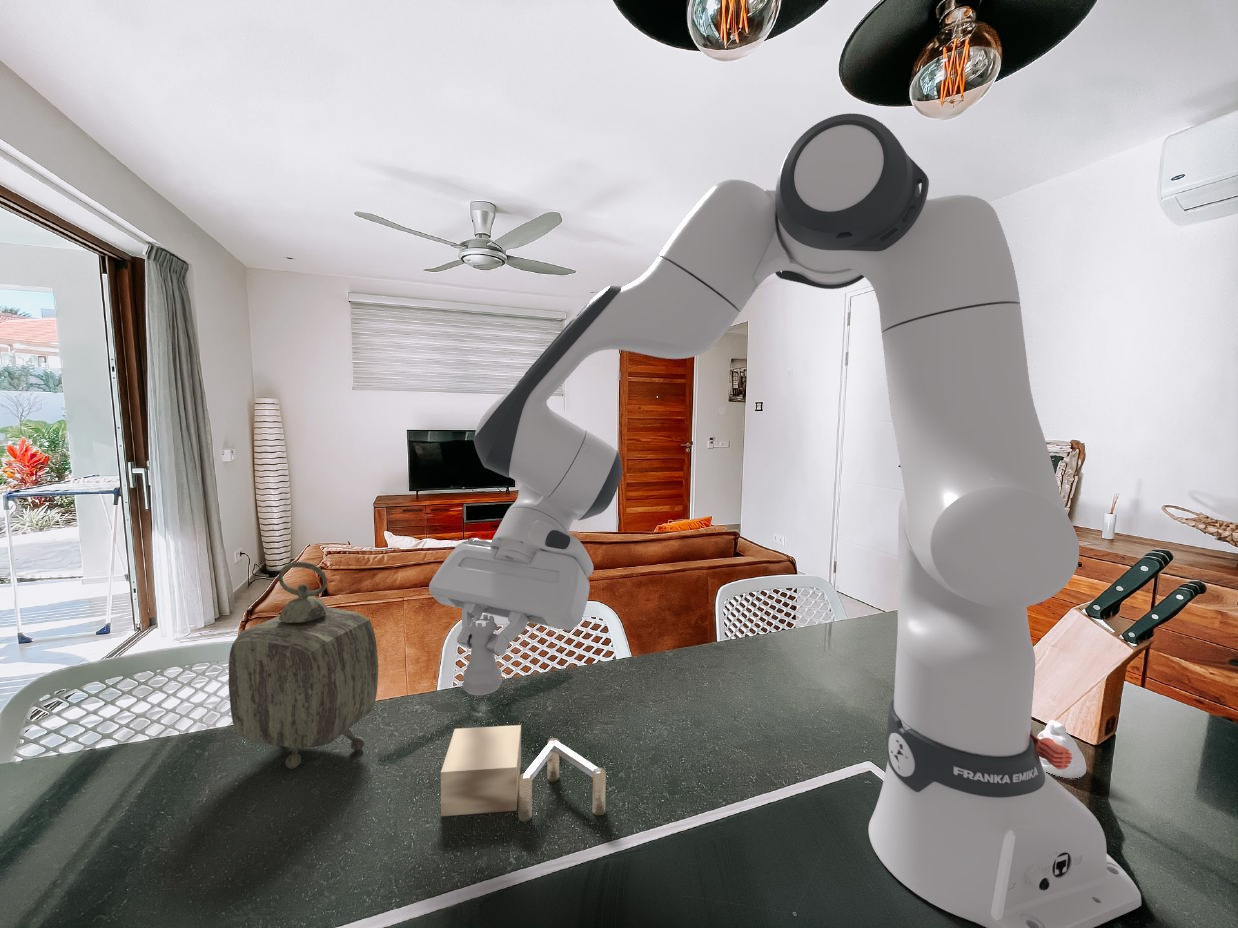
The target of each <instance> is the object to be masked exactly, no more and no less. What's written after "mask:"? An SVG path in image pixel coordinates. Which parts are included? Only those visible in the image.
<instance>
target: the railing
mask: <svg viewBox="0 0 1238 928" xmlns="http://www.w3.org/2000/svg"><path fill="white" fill-rule="evenodd" d="M546 742H547V745H545V747H543V749H542V750H541V752H540V753H539V755H538V756H537V757H536V758H535V759H534V760H533V762H532V763H531V764H530V765H529V767H528V768H527V769H526V771H525V772H523V773H520V776H519V790H518V819H519V821H521V822H528V821H530V820H531V819H532V818H533V817H532V816H533V812H532V811H533V810H532V809H533V780H534V779H535V777H536V776H537V775H538V774H539V772H540V771H541V770H542V768H543V767H544V765H546V763H547V767H546V769H547V771H546V773H547V774H546V775H547V780H548V781H549V782H557V780H559V778H560V757H561V758H563V759H565V760H566V762H568V763H570V764H572V765H573V766H575V767H576V768H577V769H579V770H580V771H582V772H584V773H585V774H586V775H588V776H590V777H591V778H592V813H593V814H594V815H595V816H602V815H604V814H605V813H606V788H607V787H606V780H607V779H606V777H607V776H606V774H607V773H606V772H607V771H606V769H605V768H603V767H598V766H596V765H595V764H593V763H592V762H591V761H590V760H587V759H585V758H584V757H583V756H582V755H580V754H578V753H577V752H575V751H574V750H572V749H571V748H569V747H568V746H566V745H565V744H563V743H561V742H560V739H559V738H558V737H557V738H556V737H551V738H549V739H548V740H547V741H546Z"/></svg>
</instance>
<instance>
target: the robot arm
mask: <svg viewBox="0 0 1238 928" xmlns="http://www.w3.org/2000/svg"><path fill="white" fill-rule="evenodd" d="M920 184H921V186H920ZM929 186H930V179H929V177H928V175H927V174H926V173H925V171H924V170H923V169H922V168H921V167H920V166H919V165H918V164H917V162H915V161H914V160H913V159H912V158H911V156H909V154H908V153H907V152H906V151H905V149H904V147H903V145H902V144H901V142H900V140H899V139H898V138H897V137H896V136H895V134H894V133H893V132H892V131H891V130H890V129H889V128H888V127H887V126H886V125H885V124H884V123H883V122H881V121H879V120H878V119H876V118H874V117H872V116H869V115H866V114H862V113H842V114H837V115H832V116H829V117H827V118H825V119H823V120H821V121H818V123H816V124H814V125H813V126H811V127H810V128H808V129H807V130H806V131H805V132H804V133H802V134H801V136H800V137H799V138H798V139H797V140H796V141H795V143H793V145H792V146H791V148H790V149H789V151H788V153H786V156H785V158H784V160H783V162H782V165H781V167H780V170H779V173H778V176H777V181H776V185H775V189H774V190H773V189H771V190H770V189H764V188H762V187H760V186H759V185H757V184H754V183H752V182H751V181H750V182H749V181H746V180H741V179H727V180H723V181H721V182H718V183H717V184H716V185H714V186H713V187H711V188H710V189H709V190H708V191H707V192H706V193H705V194H704V196H702V197H701V199H700V200H699V201H698V202H697V203H696V204H695V206H694V207H693V208H692V209H691V210H690V212H689V213H688V214H687V215H686V217H685V218H684V219H683V220H682V221H681V223H680V224H679V226H678V227H676V229H675V231H674V232H673V234H671V236H670V238H669V239H668V241H667V242H666V243H665V245H664V246H663V248H662V249H661V251H660V252H659V254H658V256H657V257H656V258H655V260H654V261H653V263H652V264H651V265H650V267H649V268H648V269H647V270H646V271H645V272H643V274H642V275H641V276H639V277H638V278H636V279H635V280H633V281H632V282H630V283H628V284H626V285H624V286H618V285H609V286H607V287H605V288H604V289H602V290H600V291H599V292H598V293H597V294H596V295H595V296H594V297H592V298H591V299H590V300H589V301H588V303H586V305H584V307H583V308H582V309H581V310H580V311H579V312H578V313H577V315H576V316H575V317H573V319H571V321H569V323H567V325H566V326H565V327H564V329H562V330H561V331H560V333H559V334H558V335H557V336H556V337H555V338H554V340H553V341H552V342H551V343H550V344H549V345H548V347H547V348H546V349H545V350H544V351H543V353H541V354H540V355H539V357H538V358H537V359H536V360H535V361H534V363H533V364H532V365H531V366H530V367H529V368H528V370H527V371H526V372H525V373H524V375H523V376H522V378H520V380H519V381H518V382H517V383H516V384H515V385H514V386H513V387H512V388H511V389H510V390H509V391H507V392H506V393H505V394H504V395H502V396H501V397H499V398H498V400H496V401H495V402H494V403H493V404H492V405H491V406H490V407H489V408H488V409H487V410H486V412H485V413H484V414H483V416H482V417H481V419H480V421H479V422H478V424H477V427H476V429H475V432H474V433H475V434H474V437H473V444H474V447H475V450H476V453H477V456H478V458H479V459H480V462H481V464H482V465H483V467H484V468H485V469H488V470H491V471H493V472H494V473H497V474H499V475H502V476H504V477H506V478H511V479H513V480H514V481H516V482H518V483H520V486H519V488H518V493H517V498H516V500H515V502H513V503H512V504H511V505H510V506H509V508H508V509H507V511H506V513H505V515H504V516H503V518H502V521H501V522H500V524H499V526H498V528H497V530H496V532H495V534H494V535H493V538H492V539H481V538H477V537H476V538H475V537H471V538H468V540H465V541H462V542H460V543H458V544H457V545H456V546H455V548H454V550H452V551H451V553H449V555H448V556H447V558H445V560H444V561H443V562H442V564H441V565H440V567H439V568H438V570H437V571H436V573H434V575H433V577H432V579H431V581H430V582H429V584H428V587H429V594H430V596H432V597H433V598H434V600H436V601H437V602H438V603H440V604H441V605H443V606H447V607H453V608H457V609H461V629H460V632H459V634H458V636H457V638H456V643H457V644H458V645H459V646H461V647H462V648H467V649H471V650H472V644H471V643H470V640H471V638H472V634H471V633H470V632H469V630H468V627H469V626H470V624H471V619H472V618H475V616H480V619H482V618H481V617H482V616H483V615H484V614H485V615H490V616H496V617H501V618H507V621H508V622H509V623H508V624H507V625H506V626H505V627H504V628H503V629H502V630H501V631H500V632H499V633H493V634H492V636H491V638H490V642H489V643H488V645H487V650H488V651H490V653H492V654H494V655H497V656H500V657H501V656H502V657H503V656H505V654H506V651H507V649H508V648H509V645H510V643H512V642H513V641H514V640H515V639H516V638H517V637H519V636H520V635H521V634H522V633H523V632H525V630H526V629H527V625H528V623H531V624H535V625H536V624H537V625H541V626H546V627H550V628H555V629H560V630H565V631H573V629H575V628H576V627H577V626H579V624H581V622H582V619H583V616H584V613H585V611H586V606H587V604H588V599H589V594H590V588H591V587H590V586H591V585H590V581H589V579H588V578H589V577H590V576H591V575H592V574H593V571H594V563H593V561H592V558H591V557H590V555H589V553H588V551H587V549H586V548H585V546H584V545H583V543H582V542H581V541H580V539H579V538H578V537H577V536H574V535H573V534H570V530H571V525H572V524H573V522H574V521H575V520H578V521H583V520H585V519H586V520H587V519H589V518H592V517H595V516H598V515H600V514H602V513H604V512H605V511H606V510H607V509H608V507H609V506H610V505H611V503H612V502H613V499H614V497H615V495H616V492H617V490H618V488H619V486H620V483H621V479H622V477H623V475H624V474H623V473H624V471H623V465H622V459H621V456H620V453H619V451H618V450H617V449H615V448H614V447H613V446H611V445H610V444H608V443H607V442H605V441H604V440H602V439H601V438H599V437H598V436H596V435H594V434H593V433H592V432H589V431H588V430H585V429H583V428H581V427H580V426H578V425H577V424H574V423H573V422H572V421H570V420H568V419H567V418H565V417H564V416H561V415H560V414H558V413H557V412H555V411H553V410H552V409H550V407H549V406H548V404H547V403H548V400H549V399H550V397H552V396H553V395H554V393H555V392H556V391H557V390H558V389H559V387H561V386H562V384H564V382H565V381H566V380H567V379H568V378H569V377H570V376H571V375H572V373H573V372H574V371H575V370H576V369H577V368H578V367H579V365H580V364H582V362H583V361H585V360H586V359H587V358H588V357H590V356H591V355H593V354H595V353H598V352H600V351H607V350H618V351H626V352H631V353H636V354H641V355H645V356H646V355H647V356H651V357H655V358H659V359H660V358H661V359H667V360H668V359H671V360H677V359H678V360H681V359H689V358H694V357H698V356H699V355H700V356H701V354H704V353H706V352H708V351H709V350H711V349H712V348H713V347H714V346H715V345H716V344H717V343H718V342H719V341H720V340H721V338H723V336H724V335H725V334H726V332H727V331H728V330H729V329H730V328H731V326H732V325H733V323H734V322H735V321H736V319H737V317H738V316H739V314H740V313H741V312H742V311H743V309H744V307H745V306H746V305H747V303H748V302H749V300H750V299H751V298H752V296H753V295H754V293H755V292H756V291H757V289H758V288H759V287H760V285H762V283H763V282H764V281H765V280H766V279H767V278H769V277H770V276H771V275H773V274H775V275H776V276H777V277H778V278H779V279H782V280H785V281H789V282H795V283H799V284H803V285H807V286H810V287H814V288H818V289H825V290H838V289H843V288H847V287H850V286H853V285H854V284H856V283H858V282H859V281H861V280H862V279H864V278H865V279H866V280H867V281H868V282H869V283H870V285H871V286H872V288H873V290H874V293H875V297H876V300H877V303H878V309H879V319H880V320H879V321H880V329H881V330H880V331H881V339H882V347H883V356H884V357H883V359H884V364H885V365H884V366H885V374H886V375H885V376H886V382H887V392H888V398H889V399H888V400H889V408H890V414H891V415H890V417H891V421H892V425H893V430H894V437H895V440H896V447H897V453H898V457H899V459H898V460H899V465H900V469H901V470H900V471H901V477H902V484H903V488H904V492H903V493H902V496H901V498H900V501H899V505H898V506H899V507H898V523H897V526H898V527H897V639H896V655H895V656H896V657H895V672H894V673H895V674H894V693H893V698H892V699H891V700H890V701H889V705H888V712H887V725H886V747H887V748H886V751H887V764H886V767H885V768H886V769H885V774H884V778H883V780H882V781H883V782H882V787H881V789H880V793H879V795H878V796H879V797H878V799H877V803H876V805H875V809H874V811H873V813H872V815H871V816H870V817H871V818H870V820H869V823H868V837H869V841H870V844H871V846H872V849H873V850H874V852H875V853H876V856H878V858H879V860H880V862H881V863H882V865H884V866H885V867H886V868H887V870H888V871H889V872H890V873H891V874H892V875H893V876H894V877H895V878H896V879H897V880H898V881H899V882H901V883H902V884H903V885H904V886H905V887H907V888H908V889H910V890H911V892H913V893H914V894H916V895H917V896H919V897H920V898H922V899H923V900H926V901H927V902H928V903H930V904H932V905H934V906H936V907H938V908H940V909H942V910H943V911H946V912H947V913H950V914H952V915H955V916H957V917H959V918H963V919H965V920H968V921H970V922H972V923H973V922H974V923H976V924H978V925H980V926H982V927H985V928H1095V927H1098V926H1101V925H1102V924H1105V923H1108V922H1109V921H1111V920H1114V919H1115V918H1118V917H1120V916H1122V915H1126V914H1127V913H1130V912H1132V911H1134V910H1136V909H1138V908H1139V907H1141V906H1142V894H1141V892H1140V890H1139V889H1138V887H1137V885H1136V883H1134V881H1133V880H1132V878H1131V877H1130V876H1129V875H1128V874H1127V871H1125V869H1123V868H1122V867H1121V866H1120V864H1118V863H1117V861H1115V860H1114V858H1112V857H1111V856H1110V855H1109V854H1108V853H1107V840H1106V836H1105V832H1104V830H1103V828H1102V825H1101V824H1100V822H1099V820H1098V819H1097V817H1096V816H1095V815H1094V813H1092V811H1090V809H1088V808H1087V806H1086V805H1085V804H1083V803H1082V802H1081V801H1080V799H1078V798H1077V797H1076V796H1075V795H1074V794H1072V793H1071V792H1070V791H1068V789H1066V788H1065V787H1064V786H1063V785H1061V783H1059V782H1058V781H1057V780H1056V779H1055V778H1053V776H1052V775H1051V774H1048V773H1046V772H1045V771H1044V770H1043V767H1042V764H1041V761H1040V758H1039V756H1040V757H1041V758H1044V759H1046V760H1047V761H1048V762H1049V763H1050V764H1051V765H1053V766H1054V767H1055V768H1057V769H1065V768H1067V767H1068V764H1071V761H1070V760H1072V757H1071V756H1072V754H1071V753H1070V752H1069V750H1068V749H1066V748H1065V747H1063V746H1061V745H1058V744H1056V743H1055V742H1054V741H1053V740H1052V739H1050V738H1042V739H1039V738H1037V736H1036V735H1034V734H1033V733H1034V732H1033V731H1032V730H1031V726H1032V713H1033V700H1034V686H1035V676H1036V673H1035V672H1036V655H1035V649H1034V646H1033V642H1032V637H1031V631H1030V625H1029V617H1028V616H1029V615H1028V608H1027V607H1031V606H1035V605H1038V604H1041V603H1043V602H1045V601H1048V600H1049V599H1051V598H1052V597H1054V596H1055V595H1057V594H1058V593H1059V592H1060V591H1062V590H1063V589H1064V588H1065V587H1066V586H1067V584H1068V583H1069V582H1070V581H1071V579H1072V577H1073V576H1074V574H1075V572H1076V569H1077V567H1078V564H1079V560H1080V559H1079V558H1080V543H1079V537H1078V535H1077V533H1076V530H1075V527H1074V526H1073V523H1072V521H1071V519H1070V517H1069V515H1068V513H1067V510H1066V508H1065V506H1064V504H1063V500H1062V497H1061V492H1060V487H1059V484H1058V480H1057V476H1056V472H1055V469H1054V465H1053V462H1052V458H1051V454H1050V452H1049V447H1048V445H1047V442H1046V439H1045V436H1044V433H1043V429H1042V426H1041V424H1040V420H1039V417H1038V414H1037V410H1036V407H1035V404H1034V403H1035V402H1034V398H1033V395H1032V390H1031V383H1030V375H1029V367H1028V358H1027V350H1026V342H1025V341H1026V340H1025V333H1024V325H1023V317H1022V307H1021V301H1020V300H1021V299H1020V293H1019V285H1018V281H1017V276H1016V271H1015V266H1014V263H1013V258H1012V254H1011V251H1010V247H1009V244H1008V241H1007V237H1006V235H1005V233H1004V230H1003V227H1002V224H1001V222H1000V219H999V217H998V214H997V212H996V211H995V208H994V207H993V205H991V204H990V203H989V202H987V201H986V200H984V199H982V198H980V197H977V196H972V195H968V194H967V195H966V194H965V195H964V194H954V195H946V196H945V195H944V196H940V197H936V198H932V199H931V198H929V199H927V198H928V197H927V196H928V194H929V193H928V192H929V188H930V187H929ZM920 187H921V188H920Z"/></svg>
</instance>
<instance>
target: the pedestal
mask: <svg viewBox="0 0 1238 928" xmlns="http://www.w3.org/2000/svg"><path fill="white" fill-rule="evenodd" d="M448 745H449V746H448V749H447V752H446V754H445V758H444V762H443V765H442V768H441V770H440V809H441V810H440V812H441V813H440V815H441V817H450V816H461V815H462V816H463V815H475V814H477V815H478V814H487V813H488V814H489V813H490V814H491V813H501V812H514V811H517V809H518V801H519V776H520V775H521V766H522V725H521V724H518V725H516V724H515V725H499V726H482V727H481V726H480V727H465V728H464V727H462V728H454V730H453V734H452V737H451V740H450V742H449V744H448Z"/></svg>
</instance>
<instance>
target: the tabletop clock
mask: <svg viewBox="0 0 1238 928" xmlns="http://www.w3.org/2000/svg"><path fill="white" fill-rule="evenodd" d="M293 568H303V569H308V570H312V571H313V572H315V573H317V574H318V575H319V577H321V580H322V586H321V587H319V588H318V589H315V590H309V587H308V586H309V585H307V584H305V583H301V584H299V585H298V587H297V588H293V587H291V586H289V585H288V584H286V583H285V581H284V578H283V577H284V574H285V573H286V572H287V571H288V570H290V569H293ZM278 582H279V584H280V586H281V587H282V588H283V590H284V591H286V592H288V593H290V594H292V595H294V596H297V597H296V598H294V599H291V600H289V601H288V602H287V603H286V604H285V606H284V607H283V609H282V611H281V612H280V614H279V615H278V616H275V617H273V618H270V619H268V620H266V621H263V622H260V623H259V624H255V625H254V626H251V627H249V628H247V629H244V630H241V632H240V633H239V634H238V636H236V638H235V640H234V642H233V643H232V645H231V648H230V651H229V655H228V657H229V658H228V694H229V696H228V697H229V707H230V713H231V720H232V725H233V728H234V730H235V732H236V733H237V735H239V736H241V737H242V738H245V739H246V740H250V741H252V742H257V743H263V744H265V745H270V746H274V747H275V746H276V747H283V748H292V750H291V754H290V755H288V756H287V758H286V759H285V761H284V762H285V764H284V765H285V766H286V768H287V769H289V770H290V769H291V770H293V769H296V768H297V767H298V766H300V764H301V761H302V757H301V755H300V754H299V753H298V751H299V749H307V748H315V747H322V746H326V745H329V744H331V743H332V742H334V741H335V740H336V739H338V738H339V737H341V735H343V736H344V737H346V738H347V739H348V740H350V748H351V750H353V751H355V752H356V751H360V750H362V749H363V748H364V746H365V741H366V740H365V738H363V737H362V736H356V737H355V735H354V734H353V732H352V731H351V730H350V728H351V727H353V726H354V725H355V724H356V723H358V722H359V721H360V720H362V719H363V718H364V717H366V716H367V715H368V714H369V713H370V712H372V711H373V708H374V706H375V703H376V699H377V695H378V685H379V683H378V682H379V658H378V657H379V656H378V649H377V648H378V647H377V639H376V634H375V630H374V627H373V624H372V622H371V619H369V617H366V616H365V615H363V614H361V613H358V612H355V611H351V610H347V609H341V608H336V607H331V606H326V604H325V603H324V601H323V600H322V599H320V598H318V597H315V596H317V595H320V594H322V593H323V592H324V591H325V590H326V588H327V585H328V578H327V576H326V573H325V572H324V571H323V569H322V568H321V567H320V566H317V565H315V564H314V563H311V562H306V561H294V562H293V561H292V562H288V563H287V564H285V565H284V566H283V567H281V569H280V571H279V573H278Z"/></svg>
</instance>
